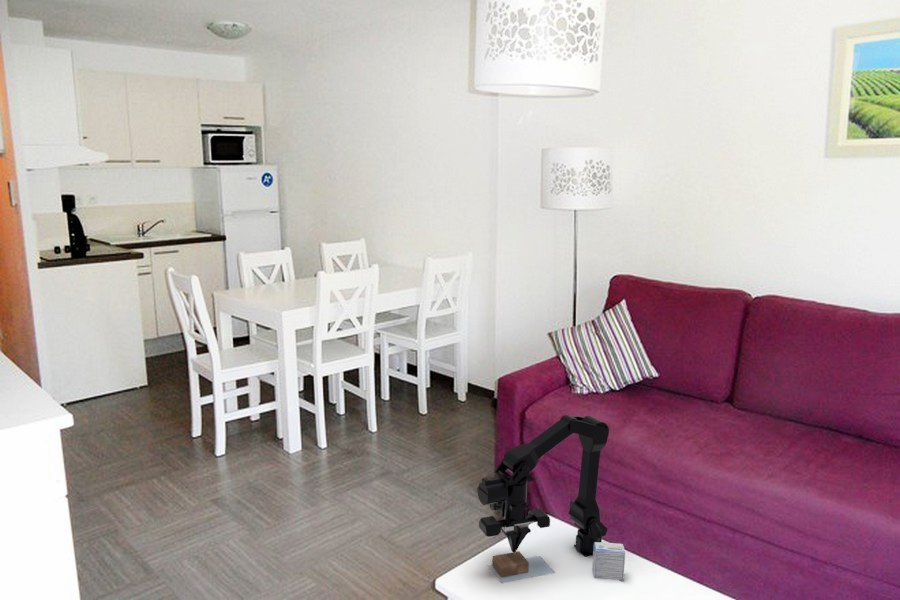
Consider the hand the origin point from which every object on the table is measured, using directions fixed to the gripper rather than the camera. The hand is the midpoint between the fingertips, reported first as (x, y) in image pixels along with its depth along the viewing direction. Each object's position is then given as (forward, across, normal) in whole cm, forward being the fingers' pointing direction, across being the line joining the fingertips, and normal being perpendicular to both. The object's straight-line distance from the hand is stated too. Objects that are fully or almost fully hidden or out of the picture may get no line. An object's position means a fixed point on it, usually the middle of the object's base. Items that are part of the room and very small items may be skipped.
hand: (513, 551), depth 188 cm
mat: (+6, -2, +1) cm, 6 cm away
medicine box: (+6, -23, +10) cm, 26 cm away
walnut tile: (+4, -3, 0) cm, 5 cm away
